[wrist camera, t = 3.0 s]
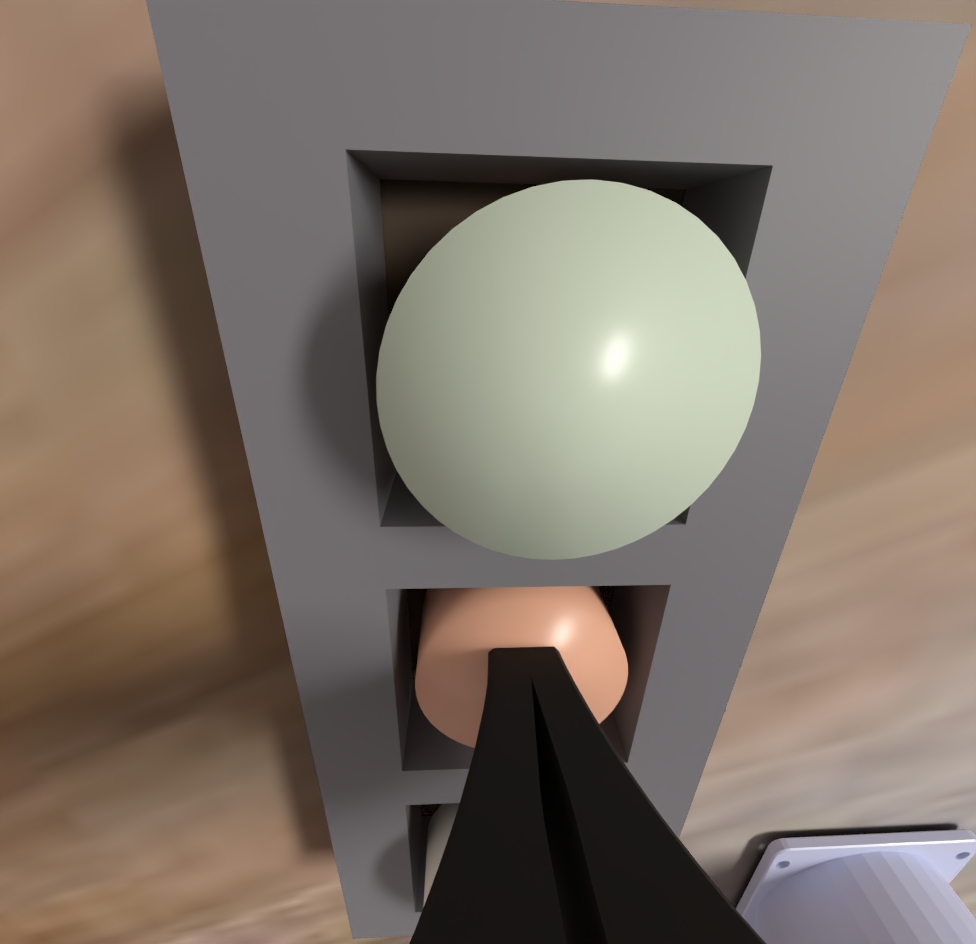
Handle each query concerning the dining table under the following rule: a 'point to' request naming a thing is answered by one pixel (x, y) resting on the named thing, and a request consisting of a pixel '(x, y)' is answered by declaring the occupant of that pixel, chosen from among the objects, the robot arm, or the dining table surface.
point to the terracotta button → (507, 624)
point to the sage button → (568, 369)
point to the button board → (364, 314)
